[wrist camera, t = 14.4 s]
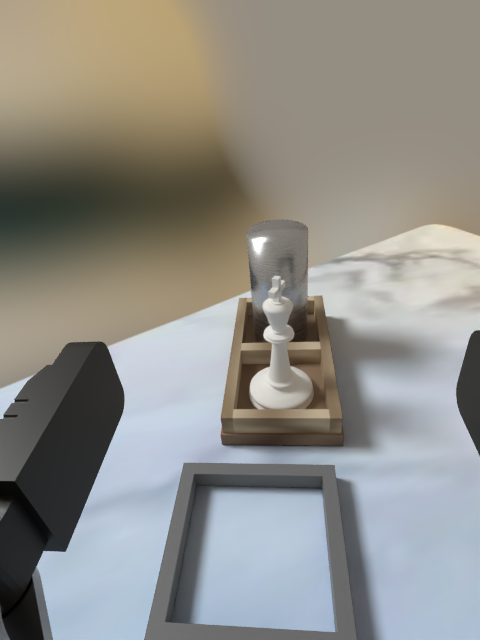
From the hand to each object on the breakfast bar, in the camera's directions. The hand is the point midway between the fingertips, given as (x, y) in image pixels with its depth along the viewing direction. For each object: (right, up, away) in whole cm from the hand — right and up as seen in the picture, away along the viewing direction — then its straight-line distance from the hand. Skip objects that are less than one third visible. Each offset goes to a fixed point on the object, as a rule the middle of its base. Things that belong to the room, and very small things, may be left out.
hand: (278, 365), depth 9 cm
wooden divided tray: (+3, -3, +26) cm, 26 cm away
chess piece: (+2, -5, +22) cm, 23 cm away
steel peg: (+3, 0, +28) cm, 28 cm away
